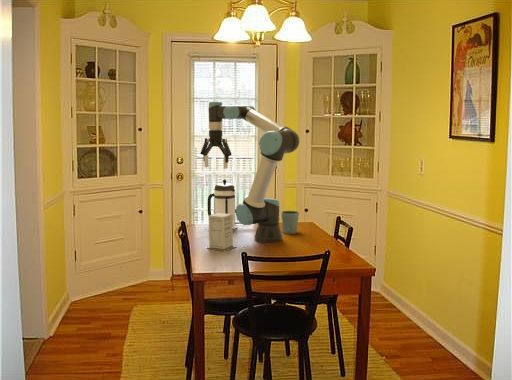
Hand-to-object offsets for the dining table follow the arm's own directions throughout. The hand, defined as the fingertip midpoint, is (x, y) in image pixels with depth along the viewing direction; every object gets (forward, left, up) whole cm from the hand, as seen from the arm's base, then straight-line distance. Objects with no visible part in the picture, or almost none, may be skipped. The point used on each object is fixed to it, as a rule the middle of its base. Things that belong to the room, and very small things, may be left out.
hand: (215, 167), depth 330 cm
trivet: (-21, +22, -39) cm, 49 cm away
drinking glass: (-29, -32, -39) cm, 58 cm away
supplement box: (-20, +22, -38) cm, 49 cm away
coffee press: (+9, -17, -39) cm, 44 cm away
